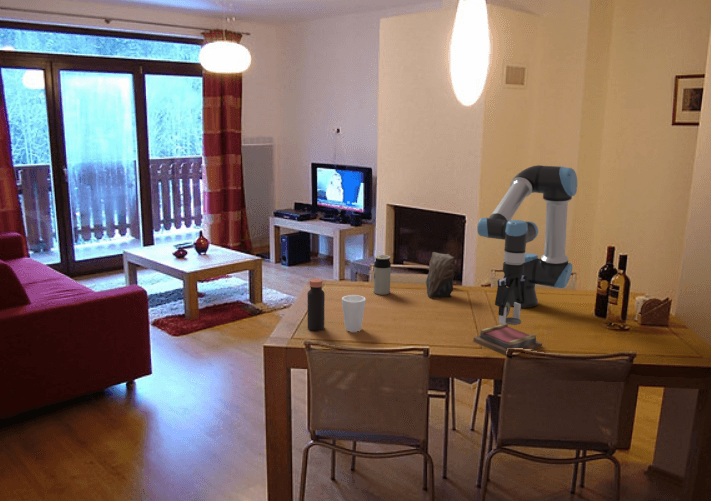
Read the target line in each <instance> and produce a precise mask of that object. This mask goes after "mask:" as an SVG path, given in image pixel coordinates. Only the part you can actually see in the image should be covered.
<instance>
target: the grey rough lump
mask: <svg viewBox="0 0 711 501" xmlns="http://www.w3.org/2000/svg"><path fill="white" fill-rule="evenodd" d="M455 260H456V257H455V256H453V255H451V254H450V253H446V254H445V253H439V252H435V251H432V253H431V258H430V260H429V264H428V265H429V266H428V273H427V278H426V279H425V280H426V282H425V283H426V284H425V285H426V293H427V297H428V299H430V300H431V299H444V298H452V293H453V292H454V282H453V281H454V278H455V276H456V272H455V268H456V266H455Z"/></svg>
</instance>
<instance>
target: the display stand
mask: <svg viewBox="0 0 711 501" xmlns="http://www.w3.org/2000/svg"><path fill="white" fill-rule="evenodd" d="M472 339H473V340H472V342H474V343H477V344H479V345H481V346H483V347H485V348H488V349H490V350H493V351H495V352H497V353H499V354H501V355H504V356H506V351H507V348H523V349H534V350H537V349H539V348H538V347H540V348H542V347H543V342H541V341H538V340H537V334H535V333H532V334H528V333H525V332H523V331H520V330H518V329H516V328H513V327H510V326H509V324H506V323H505V324H501V323H500V324H498V325H494V326H491V327H487V328H483V329H480V332H479V335H477V336H474V337H473V338H472ZM541 346H542V347H541Z"/></svg>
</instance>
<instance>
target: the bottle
mask: <svg viewBox="0 0 711 501" xmlns="http://www.w3.org/2000/svg"><path fill="white" fill-rule="evenodd" d="M309 288H310V289H309V290H308V291H307V293H306V294H307V329H308V330H309V331H311V330H312V331H313V332H318V331H319V330H320V331H323V330H324V329H325V300H326V299H325V298H326V296H325V291H324V290H323V289H322V288H323V280H322V279H321V278H313V279H309ZM320 331H319V332H320Z"/></svg>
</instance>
